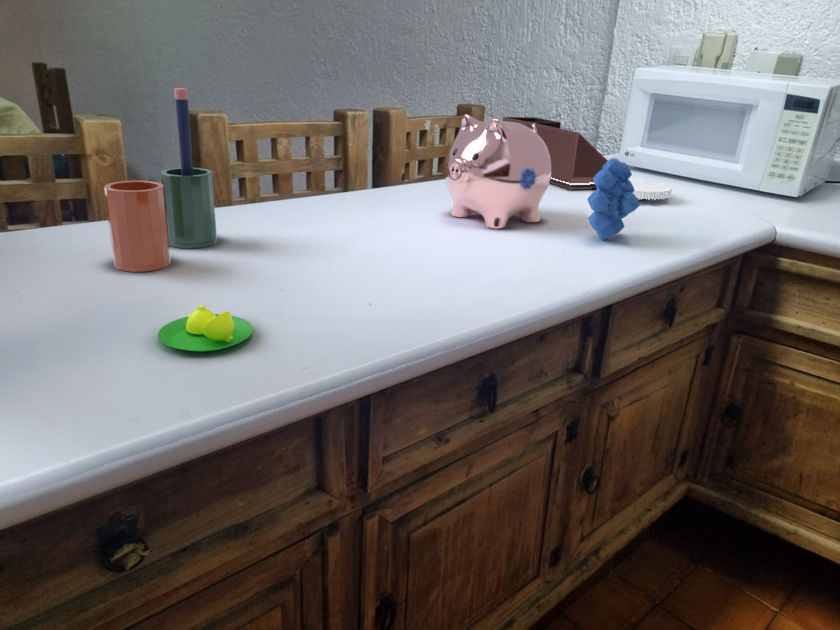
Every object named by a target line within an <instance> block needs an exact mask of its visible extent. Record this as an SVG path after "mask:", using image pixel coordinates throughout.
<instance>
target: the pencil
mask: <svg viewBox="0 0 840 630" xmlns="http://www.w3.org/2000/svg"><path fill="white" fill-rule="evenodd" d="M173 91H174V99H175V111H176V112H175V113H176V122H177V123H176V124H177V136H178V148H179V160H180V163H179V164H180V168H181V175H182V176H191V175H193V168H194V165H193V151H192V150H193V149H192V138H191V137H192V136H191V124H190V109H189V94H188V92H189V91H188V88H186V87H175V88H174V90H173Z"/></svg>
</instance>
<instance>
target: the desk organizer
mask: <svg viewBox="0 0 840 630" xmlns="http://www.w3.org/2000/svg"><path fill="white" fill-rule="evenodd" d="M501 121H510V122H516V123H520V124H523V125H525V126H527V127H528V128H530V129H531V130H533V129H532V126H531V125H534V123H535V126H536V129H537V134H538V135H539V136H540V137H541V138H542V140H543V141H544V143H545V144H546V146H547V148H548V151H549V154H550V158H551V163H552V173H551V177H552V178H555V179H558V180H561V181H565V182H569V183H589V182H594V181H593V178H594V176H595V175H596V174H597V173H598V172H599V171H601V170H603V169H602V167H603V165H604V164H605V163H606V162H607V161H608V160H609V159H607V158H606V157H605V156H604V155H603V154H602V153H601V152H600V151H598V149H596V148H595V146H593V145H592V144H591V143H590V142H589V141H588V140H587V139H586V138H585V137H584V136H583V135H582V134H581V133H580V132H579V131H573V130H569V129H564V128H561V125H562V123H561V121H558V120H557V121H556V120H551V119H547V118H546V119H545V118H541V117H537V116H535V117H532V116H530V117H529V116H502V120H501ZM549 184H551V185H555V186H557V187H561V188H563V189H567V190H569V191H574V190H595V189H594V188H597V187H596V185H595V184H590V185H569V184H566V183H563V182H560V181H556V180H553V179H550V183H549ZM592 188H593V189H592Z"/></svg>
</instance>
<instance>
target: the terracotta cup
mask: <svg viewBox="0 0 840 630" xmlns="http://www.w3.org/2000/svg"><path fill="white" fill-rule="evenodd" d="M103 189H104V197H105V204H106V213H107V220H108V229H109V237H110V245H111V253H112V260H113V265H114V268H116V269H117V270H120V271H123V272H129V273H131V272H132V273H145V272H152V271H158V270H161V269H165V268H167V267H168V266H170V265H171V262H172V261H171V256H172V255H171V246H170V245H169V234H168V223H167V212H166V201H165V190H164V185H163V184H162V182H157V181H152V180H151V181H150V180H123V181H122V180H121V181H115V182H114V181H113V182H110V183H107V184H105V185H104V186H103Z"/></svg>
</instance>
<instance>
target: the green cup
mask: <svg viewBox="0 0 840 630" xmlns="http://www.w3.org/2000/svg"><path fill="white" fill-rule="evenodd" d="M160 178H161V179H160V180H161V184H163V185H164V190H165V201H166V212H167V223H168V234H169V245H170V247H173V248H177V249H187V250H188V249H201V248H208V247H211V246H213V245H216V243H217V221H216V220H217V219H216V206H215V205H216V204H215V187H214V174H213V171H212V170H210V169H207V168H202V167H193V175H191V176H182V175H181V167H173V168H167V169H164V170H161V171H160Z"/></svg>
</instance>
